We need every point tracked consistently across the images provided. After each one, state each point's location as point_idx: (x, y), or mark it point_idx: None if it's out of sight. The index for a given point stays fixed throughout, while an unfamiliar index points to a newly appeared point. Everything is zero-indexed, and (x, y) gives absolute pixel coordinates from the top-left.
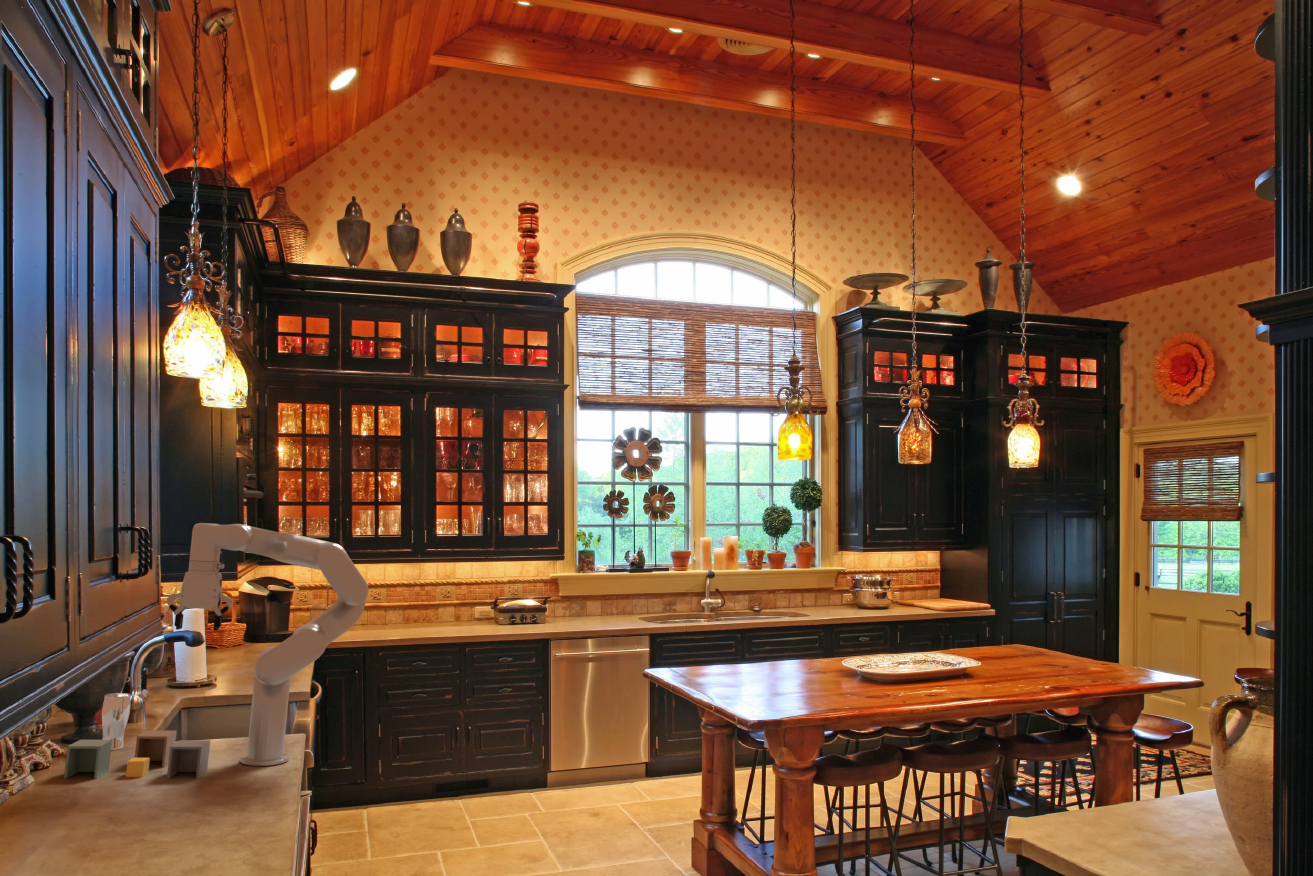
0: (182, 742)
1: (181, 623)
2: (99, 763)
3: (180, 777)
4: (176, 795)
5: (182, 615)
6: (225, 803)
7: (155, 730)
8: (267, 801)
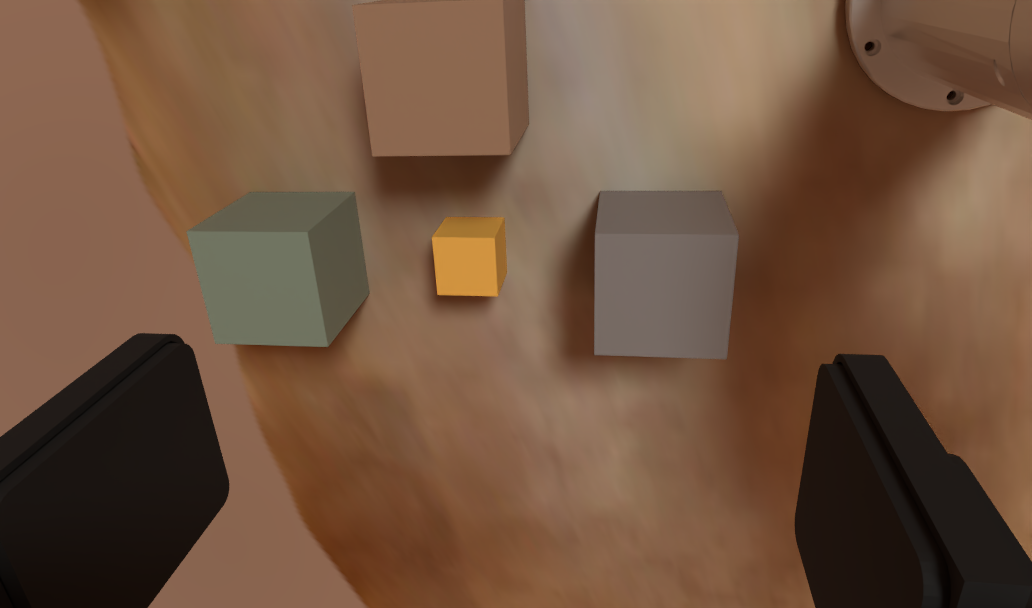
0: (621, 280)
1: (152, 450)
2: (350, 306)
3: None
4: (689, 479)
5: (29, 562)
6: None
7: (394, 6)
8: None
